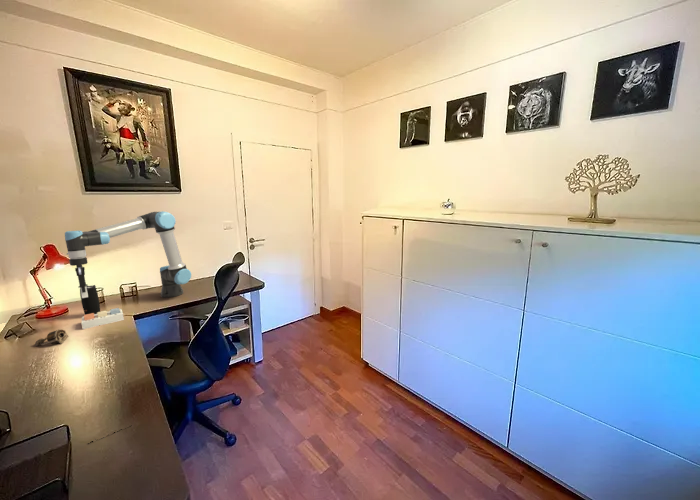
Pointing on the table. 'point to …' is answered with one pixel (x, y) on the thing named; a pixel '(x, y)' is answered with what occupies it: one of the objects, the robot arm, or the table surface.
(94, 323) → the button panel
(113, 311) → the one dot button
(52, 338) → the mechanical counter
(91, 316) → the three dot button
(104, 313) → the two dot button
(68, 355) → the table surface
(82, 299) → the portable speaker
